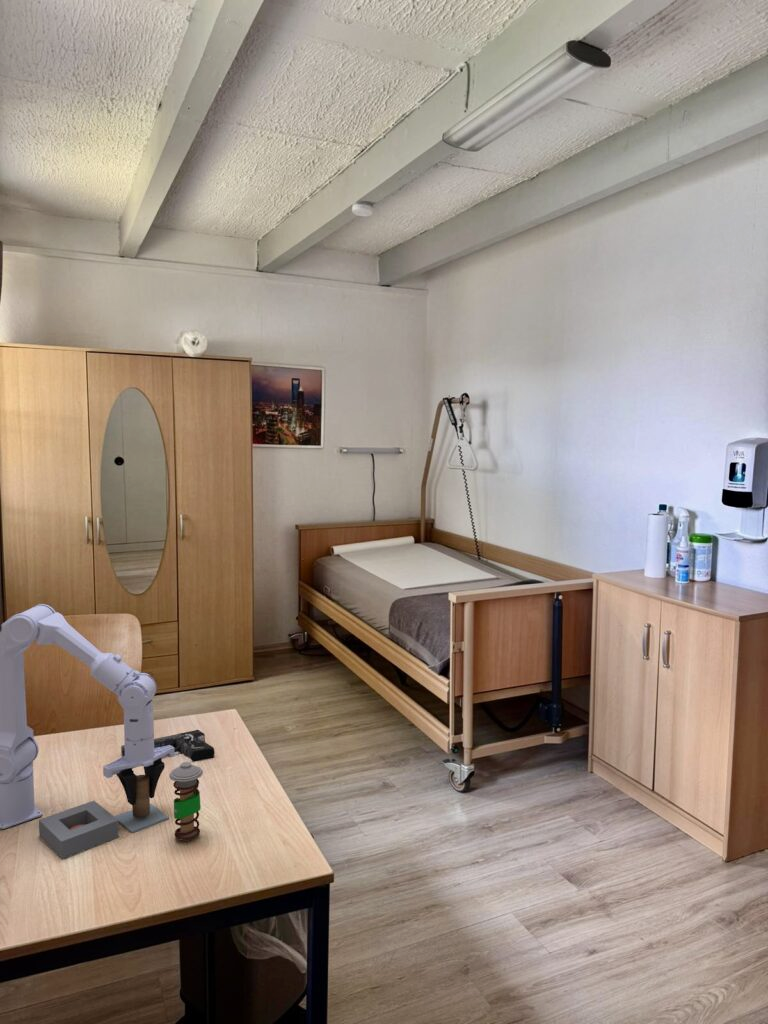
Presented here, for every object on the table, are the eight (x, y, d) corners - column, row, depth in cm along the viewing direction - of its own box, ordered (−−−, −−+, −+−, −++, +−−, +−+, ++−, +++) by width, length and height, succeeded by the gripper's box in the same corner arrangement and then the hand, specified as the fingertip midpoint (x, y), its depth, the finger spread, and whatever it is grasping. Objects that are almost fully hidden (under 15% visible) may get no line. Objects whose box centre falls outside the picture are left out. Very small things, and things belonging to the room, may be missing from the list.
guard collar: (39, 836, 144) (38, 819, 144) (94, 816, 152) (93, 800, 152) (62, 859, 136) (61, 841, 136) (118, 837, 144) (118, 820, 144)
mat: (113, 818, 151) (113, 816, 151) (150, 805, 157) (149, 803, 157) (132, 833, 146) (132, 831, 146) (168, 818, 151) (168, 816, 151)
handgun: (130, 764, 170) (119, 741, 183) (131, 778, 171) (120, 754, 183) (215, 746, 180) (200, 725, 192) (215, 759, 181) (200, 738, 193)
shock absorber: (169, 832, 146) (167, 759, 145) (201, 826, 148) (200, 755, 147) (172, 849, 140) (170, 773, 139) (206, 842, 142) (204, 768, 141)
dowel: (129, 812, 151) (128, 777, 150) (145, 807, 153) (144, 773, 153) (136, 819, 149) (135, 783, 148) (152, 813, 151) (151, 778, 150)
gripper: (113, 752, 142) (115, 819, 143) (181, 731, 152) (182, 794, 153) (97, 741, 146) (99, 806, 148) (164, 722, 157) (165, 783, 158)
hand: (140, 799), depth 151 cm, fingers open, 3 cm apart
